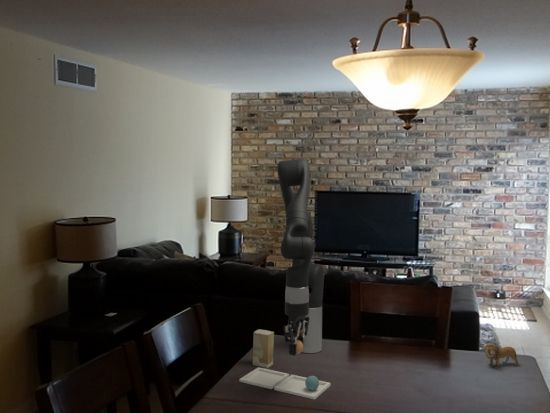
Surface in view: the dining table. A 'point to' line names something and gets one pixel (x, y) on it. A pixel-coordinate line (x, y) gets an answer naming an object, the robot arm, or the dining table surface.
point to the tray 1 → (264, 378)
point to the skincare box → (263, 348)
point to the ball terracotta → (299, 347)
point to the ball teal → (312, 383)
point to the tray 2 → (301, 387)
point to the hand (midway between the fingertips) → (296, 352)
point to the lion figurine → (500, 354)
